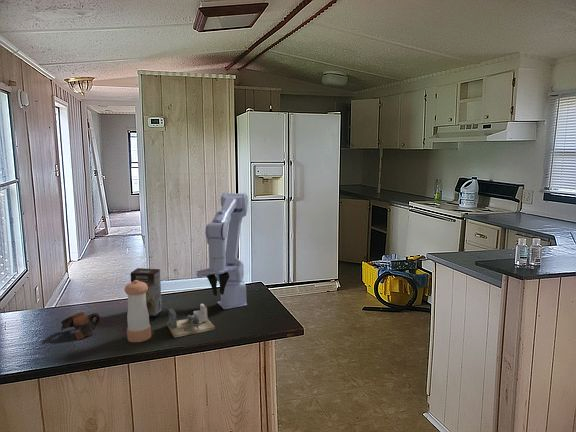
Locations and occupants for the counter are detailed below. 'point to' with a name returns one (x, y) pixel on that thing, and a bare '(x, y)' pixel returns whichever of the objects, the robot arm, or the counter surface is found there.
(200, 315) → the grey stepped block
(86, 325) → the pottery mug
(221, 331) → the counter surface
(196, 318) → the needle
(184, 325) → the gauge base
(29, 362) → the counter surface
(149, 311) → the coffee box
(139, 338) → the salt shaker
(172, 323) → the anvil
